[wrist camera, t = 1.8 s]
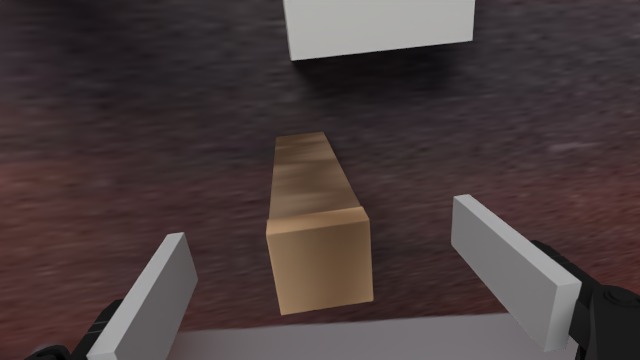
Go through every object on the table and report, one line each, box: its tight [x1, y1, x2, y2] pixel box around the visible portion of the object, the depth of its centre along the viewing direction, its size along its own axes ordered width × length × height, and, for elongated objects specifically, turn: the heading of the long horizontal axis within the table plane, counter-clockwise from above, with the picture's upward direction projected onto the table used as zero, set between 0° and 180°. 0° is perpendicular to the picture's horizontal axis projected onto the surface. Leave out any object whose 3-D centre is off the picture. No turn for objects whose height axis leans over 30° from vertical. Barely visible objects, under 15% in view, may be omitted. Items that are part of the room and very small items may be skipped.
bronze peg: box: [266, 131, 373, 315], centre depth 21 cm, size 4×4×16 cm
